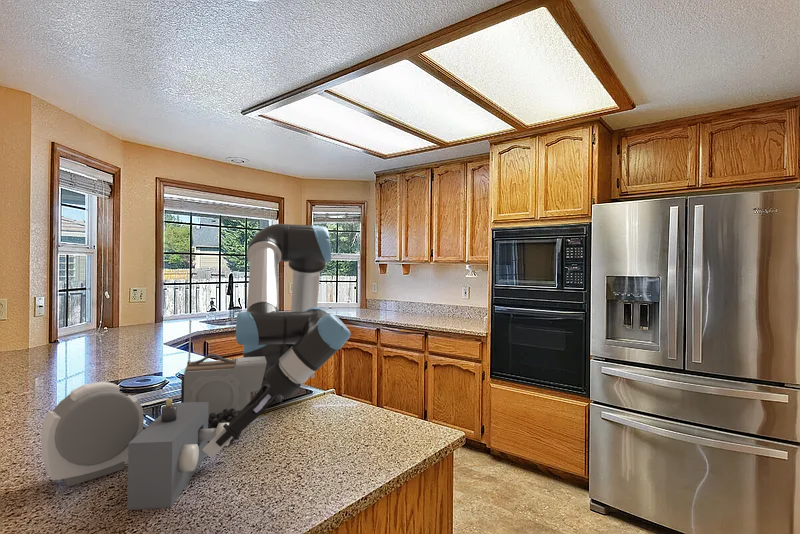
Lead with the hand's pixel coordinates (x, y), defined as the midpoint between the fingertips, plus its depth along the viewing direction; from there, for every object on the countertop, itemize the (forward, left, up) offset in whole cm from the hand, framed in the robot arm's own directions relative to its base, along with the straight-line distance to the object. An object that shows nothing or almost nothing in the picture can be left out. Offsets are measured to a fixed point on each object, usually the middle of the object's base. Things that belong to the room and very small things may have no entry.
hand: (208, 452), depth 90 cm
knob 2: (-12, -2, -4) cm, 13 cm away
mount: (-6, -9, -8) cm, 14 cm away
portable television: (-42, -7, -8) cm, 44 cm away
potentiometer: (-6, -10, +5) cm, 13 cm away
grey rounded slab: (-10, -27, -8) cm, 30 cm away
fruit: (-26, -5, -8) cm, 28 cm away
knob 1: (0, -6, -4) cm, 7 cm away
